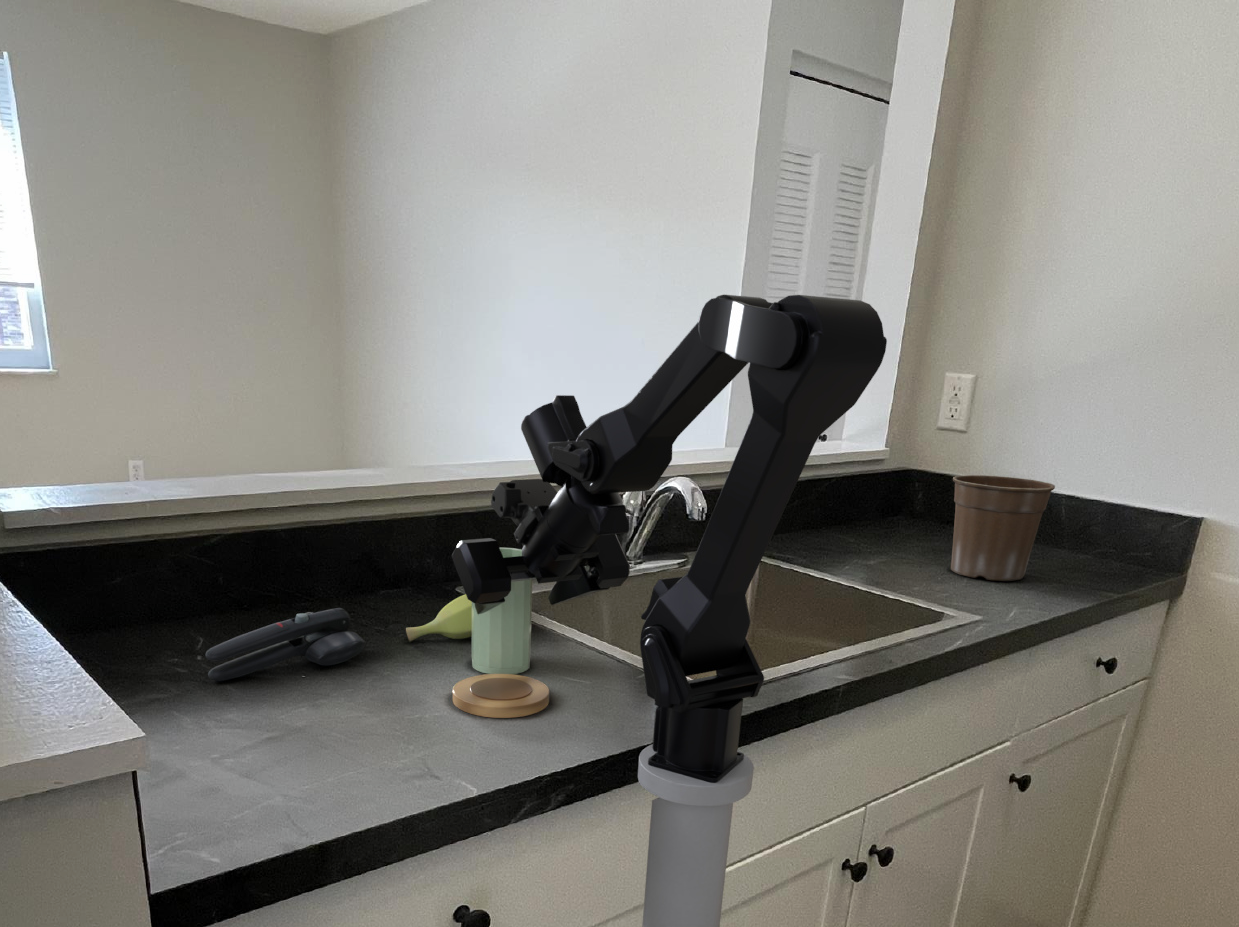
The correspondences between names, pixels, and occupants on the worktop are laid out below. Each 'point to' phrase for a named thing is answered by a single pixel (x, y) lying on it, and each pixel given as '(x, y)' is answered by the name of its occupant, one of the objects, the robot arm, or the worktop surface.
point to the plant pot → (996, 525)
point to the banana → (448, 621)
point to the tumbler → (504, 630)
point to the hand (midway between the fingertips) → (515, 605)
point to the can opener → (289, 644)
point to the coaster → (500, 695)
